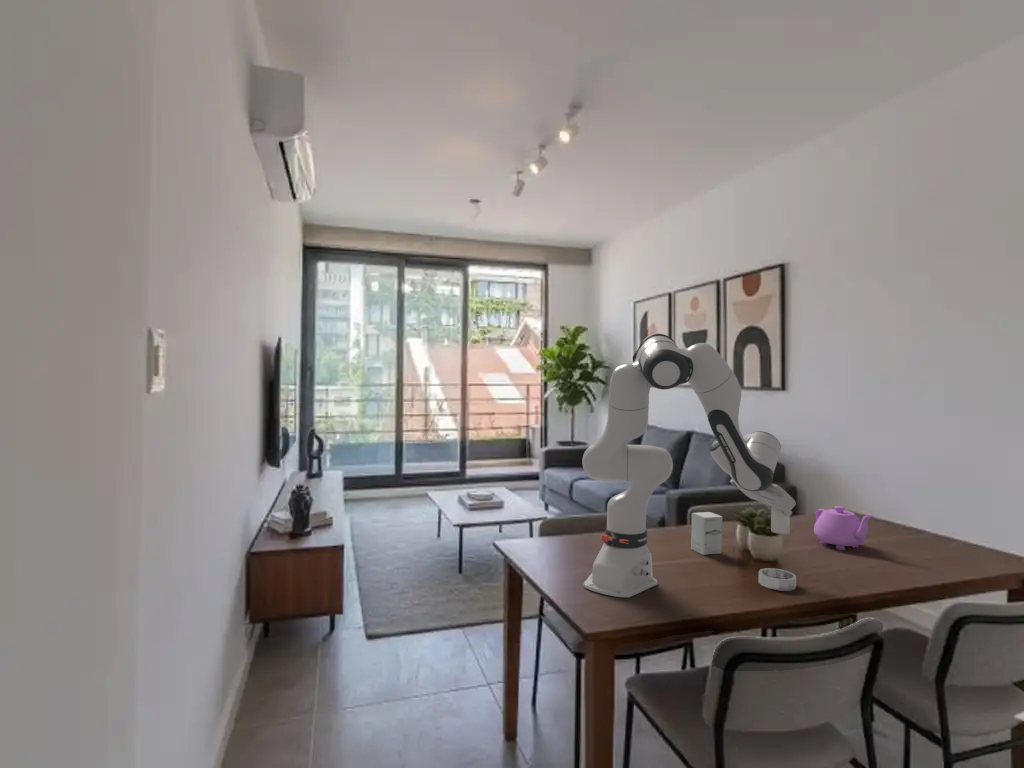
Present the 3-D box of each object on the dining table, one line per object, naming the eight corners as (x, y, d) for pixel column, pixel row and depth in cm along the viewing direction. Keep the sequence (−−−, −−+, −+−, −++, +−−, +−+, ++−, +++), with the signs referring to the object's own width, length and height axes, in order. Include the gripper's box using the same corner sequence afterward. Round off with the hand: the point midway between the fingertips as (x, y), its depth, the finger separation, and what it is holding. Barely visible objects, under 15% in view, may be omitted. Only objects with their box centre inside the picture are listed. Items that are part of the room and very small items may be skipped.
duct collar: (792, 593, 150) (793, 582, 150) (755, 585, 155) (756, 575, 155) (797, 583, 158) (798, 572, 158) (762, 576, 163) (762, 566, 163)
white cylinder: (788, 535, 159) (789, 500, 159) (769, 532, 162) (770, 498, 162) (790, 531, 164) (791, 497, 164) (772, 528, 166) (772, 495, 166)
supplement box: (703, 555, 182) (703, 517, 182) (690, 548, 189) (690, 512, 189) (722, 553, 184) (723, 516, 184) (709, 547, 191) (709, 511, 191)
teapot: (887, 553, 186) (888, 512, 186) (854, 558, 181) (855, 516, 181) (829, 535, 207) (830, 499, 207) (798, 539, 201) (799, 502, 201)
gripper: (781, 477, 151) (813, 512, 153) (740, 466, 172) (768, 497, 173) (766, 494, 151) (798, 528, 152) (726, 480, 171) (755, 511, 172)
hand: (782, 511), depth 163 cm, fingers closed on white cylinder, 5 cm apart
